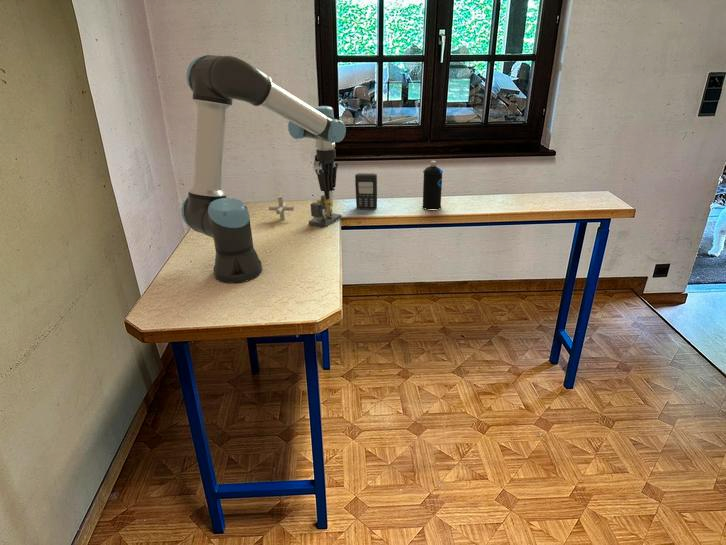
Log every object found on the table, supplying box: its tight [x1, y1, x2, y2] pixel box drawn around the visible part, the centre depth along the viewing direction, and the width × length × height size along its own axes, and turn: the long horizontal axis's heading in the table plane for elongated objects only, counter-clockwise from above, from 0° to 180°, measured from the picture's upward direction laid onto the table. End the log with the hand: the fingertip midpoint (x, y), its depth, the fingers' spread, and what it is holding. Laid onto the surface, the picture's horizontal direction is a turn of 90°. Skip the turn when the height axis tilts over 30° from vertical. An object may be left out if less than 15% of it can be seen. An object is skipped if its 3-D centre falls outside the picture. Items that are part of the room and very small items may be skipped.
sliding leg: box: [316, 194, 333, 218], centre depth 192 cm, size 4×6×8 cm, turn 60°
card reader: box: [354, 173, 378, 210], centre depth 204 cm, size 9×4×15 cm, turn 83°
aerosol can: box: [421, 160, 444, 210], centre depth 201 cm, size 8×8×20 cm
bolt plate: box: [308, 202, 342, 228], centre depth 192 cm, size 12×8×8 cm, turn 150°
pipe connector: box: [268, 195, 295, 222], centre depth 194 cm, size 10×10×10 cm
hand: (329, 206), depth 196 cm, fingers closed
